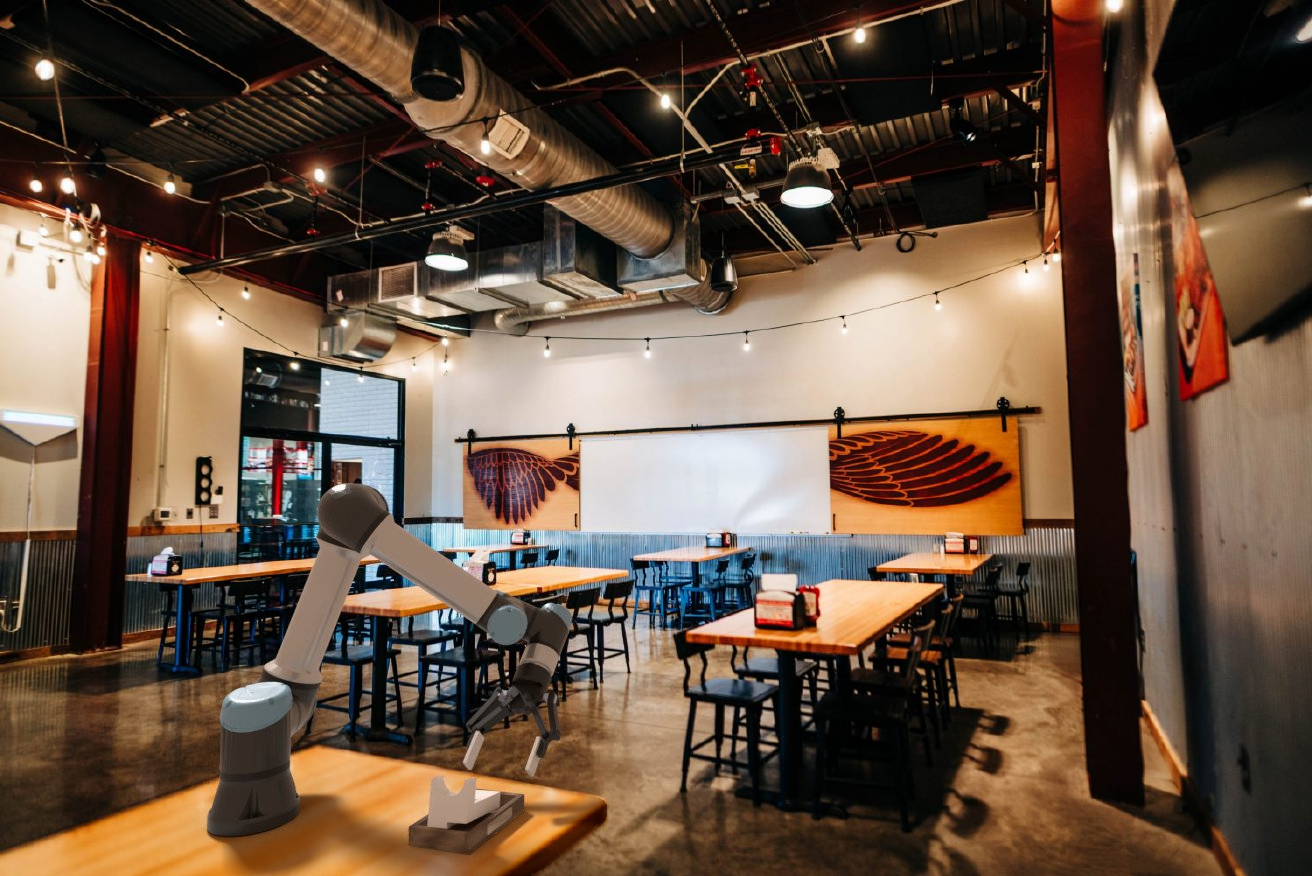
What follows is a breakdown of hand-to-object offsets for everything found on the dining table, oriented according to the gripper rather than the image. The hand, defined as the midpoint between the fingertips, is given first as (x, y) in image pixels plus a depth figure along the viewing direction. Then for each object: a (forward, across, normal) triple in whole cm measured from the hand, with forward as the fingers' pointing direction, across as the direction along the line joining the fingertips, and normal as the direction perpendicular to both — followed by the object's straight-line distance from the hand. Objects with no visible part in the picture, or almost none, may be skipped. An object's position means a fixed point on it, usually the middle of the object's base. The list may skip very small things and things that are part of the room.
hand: (497, 770), depth 141 cm
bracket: (+11, 0, +4) cm, 12 cm away
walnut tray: (+11, 0, +2) cm, 11 cm away
